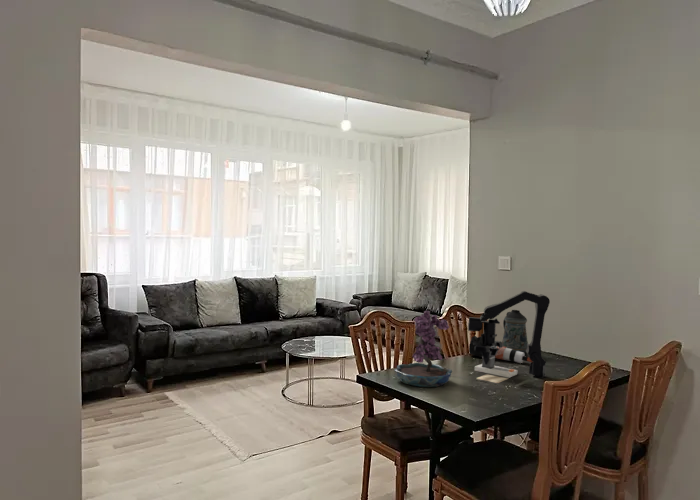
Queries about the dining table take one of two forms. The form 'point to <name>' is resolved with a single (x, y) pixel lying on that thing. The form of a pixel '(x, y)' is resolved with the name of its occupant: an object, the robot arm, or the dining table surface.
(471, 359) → the dining table surface
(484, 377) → the birch pad
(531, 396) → the dining table surface
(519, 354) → the striped cylinder
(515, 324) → the beer stein
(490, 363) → the block
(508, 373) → the switch housing
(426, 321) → the bonsai tree
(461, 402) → the dining table surface
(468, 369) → the dining table surface
